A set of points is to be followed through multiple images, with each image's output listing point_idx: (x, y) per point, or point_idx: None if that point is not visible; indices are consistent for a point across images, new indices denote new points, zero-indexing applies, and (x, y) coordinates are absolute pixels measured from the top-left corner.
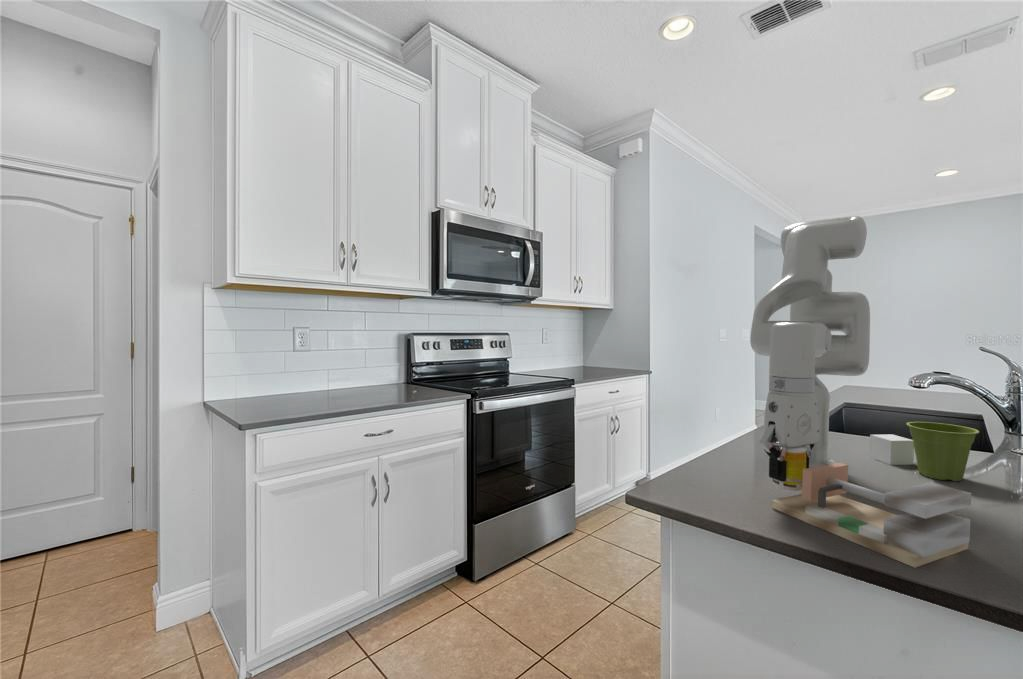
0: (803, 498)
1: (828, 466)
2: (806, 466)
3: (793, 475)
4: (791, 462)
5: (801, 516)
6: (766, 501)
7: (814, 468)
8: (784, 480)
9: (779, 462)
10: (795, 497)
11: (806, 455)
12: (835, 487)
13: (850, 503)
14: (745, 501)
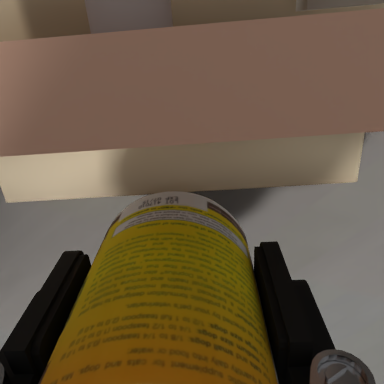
0: (195, 151)
1: (57, 101)
2: (58, 297)
3: (222, 248)
4: (244, 323)
5: None
6: (292, 222)
7: (299, 99)
8: (275, 242)
9: (318, 351)
10: (220, 172)
11: (6, 376)
12: None
13: (5, 19)
14: (370, 245)
